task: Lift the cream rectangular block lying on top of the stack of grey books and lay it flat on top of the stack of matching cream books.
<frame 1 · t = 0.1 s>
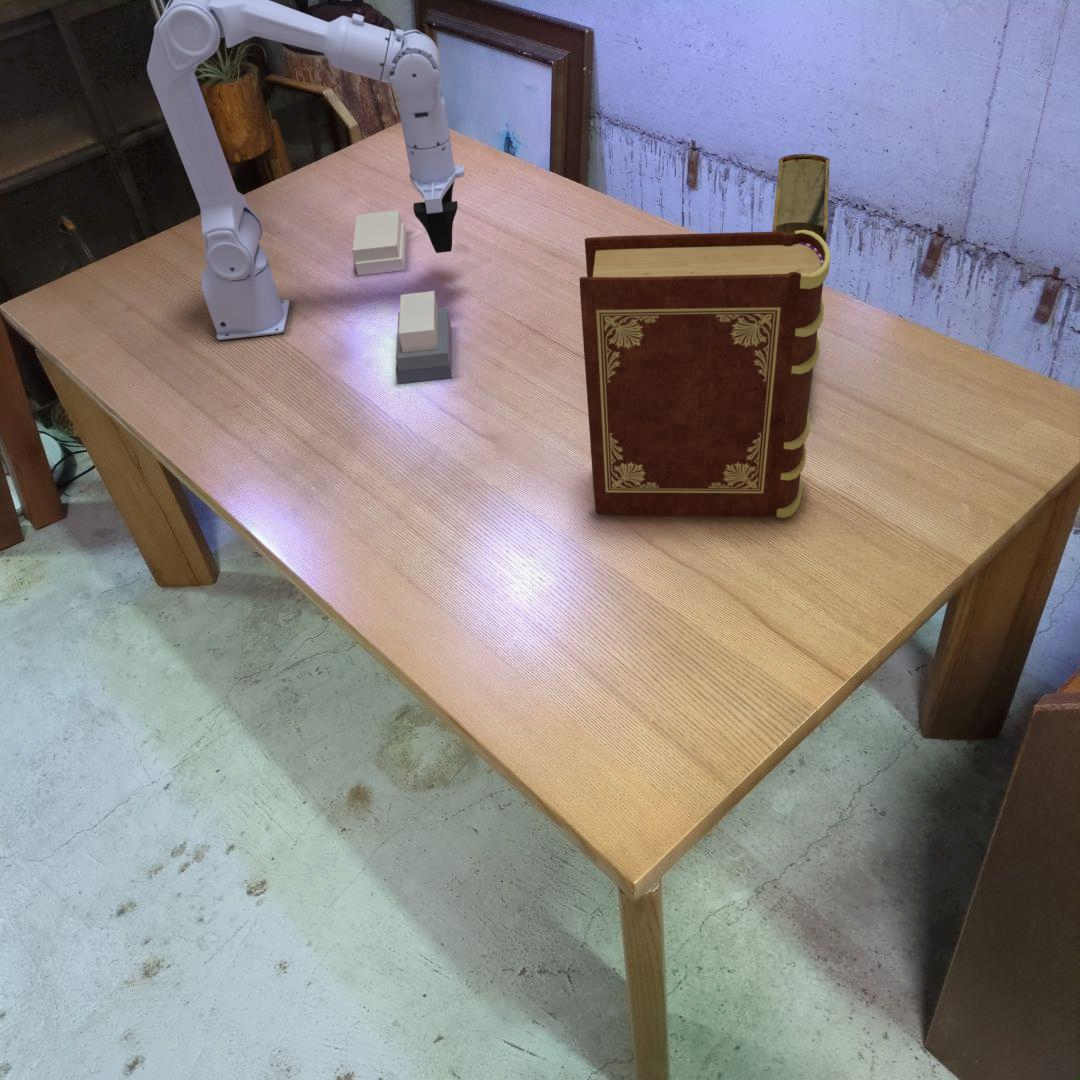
hand: (443, 236, 143), 10 cm above the table, tool pointing down, fingers open, 7 cm apart
cream stack: (382, 254, 161), on the table
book: (784, 379, 131), on the table
cream rectangular block: (420, 331, 138), point 4 cm above the table, touching grey stack
grey stack: (425, 356, 141), on the table
decorative book: (697, 494, 118), on the table
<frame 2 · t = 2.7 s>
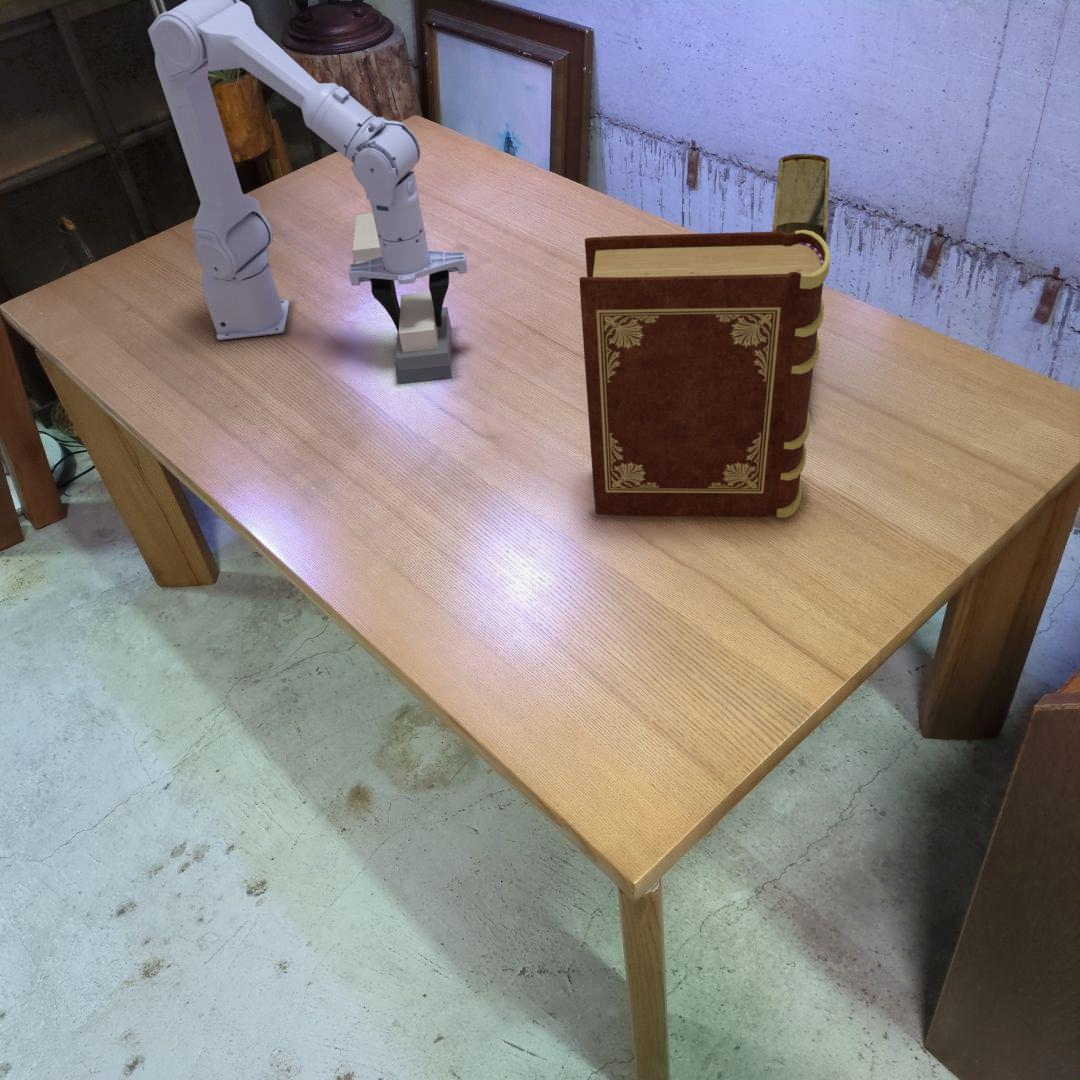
hand: (419, 324, 137), 5 cm above the table, tool pointing down, fingers closed on cream rectangular block, 4 cm apart
cream rectangular block: (420, 331, 138), point 4 cm above the table, touching grey stack, gripper
everything else where it was.
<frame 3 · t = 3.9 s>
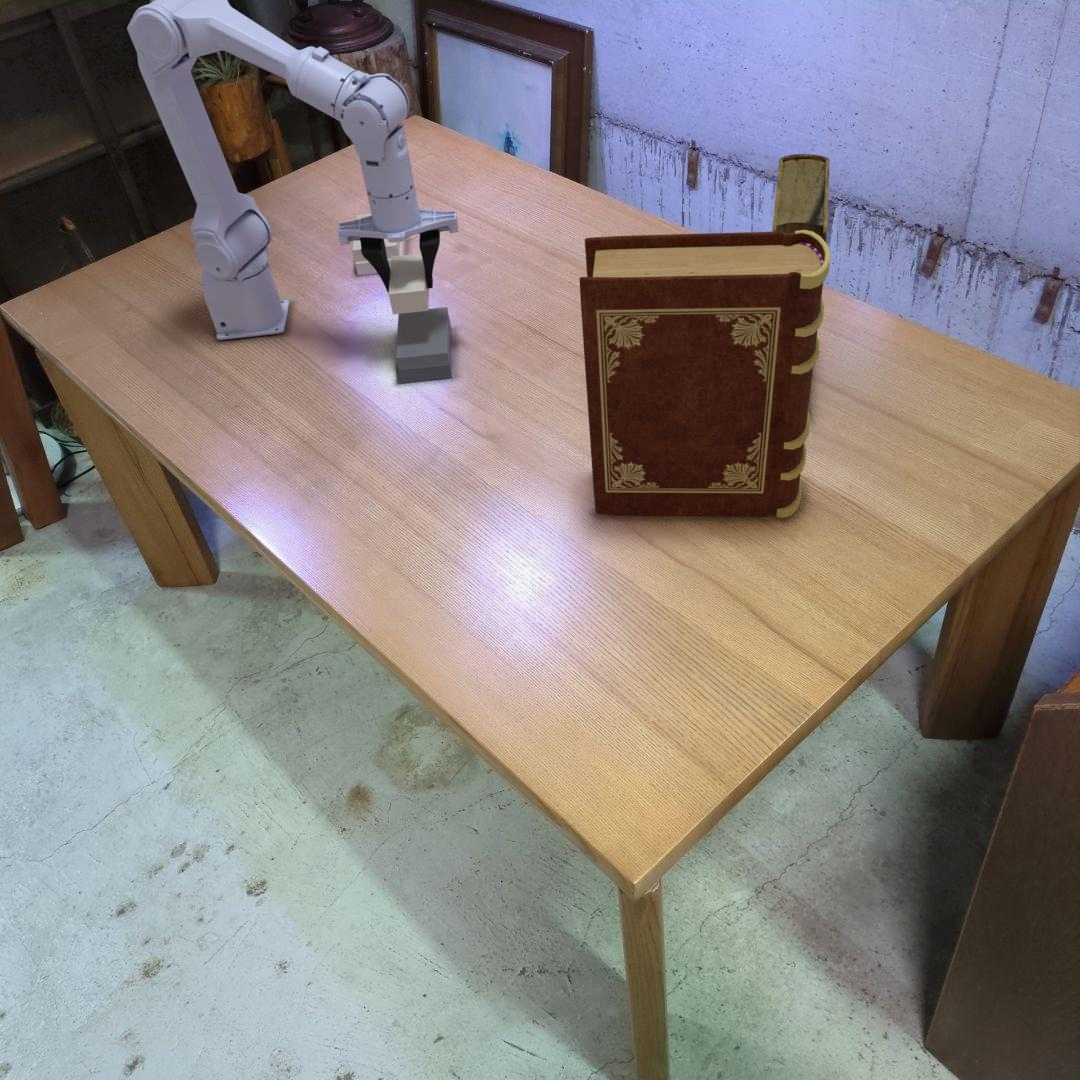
hand: (409, 286, 135), 10 cm above the table, tool pointing down, fingers closed on cream rectangular block, 4 cm apart
cream rectangular block: (411, 293, 136), point 9 cm above the table, touching gripper
everything else where it was.
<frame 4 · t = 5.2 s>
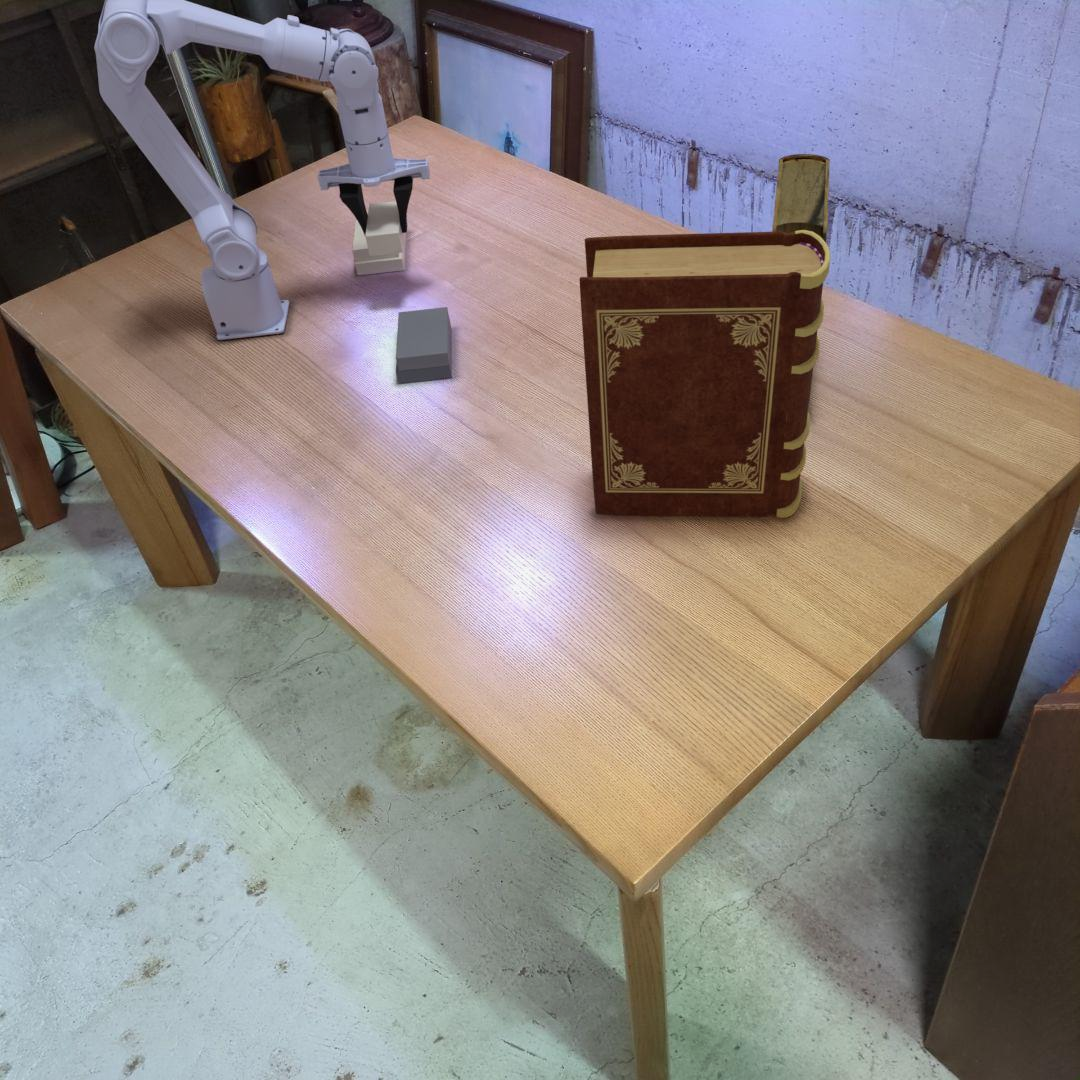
hand: (386, 231, 146), 10 cm above the table, tool pointing down, fingers closed on cream rectangular block, 4 cm apart
cream rectangular block: (387, 237, 146), point 9 cm above the table, touching gripper
everything else where it was.
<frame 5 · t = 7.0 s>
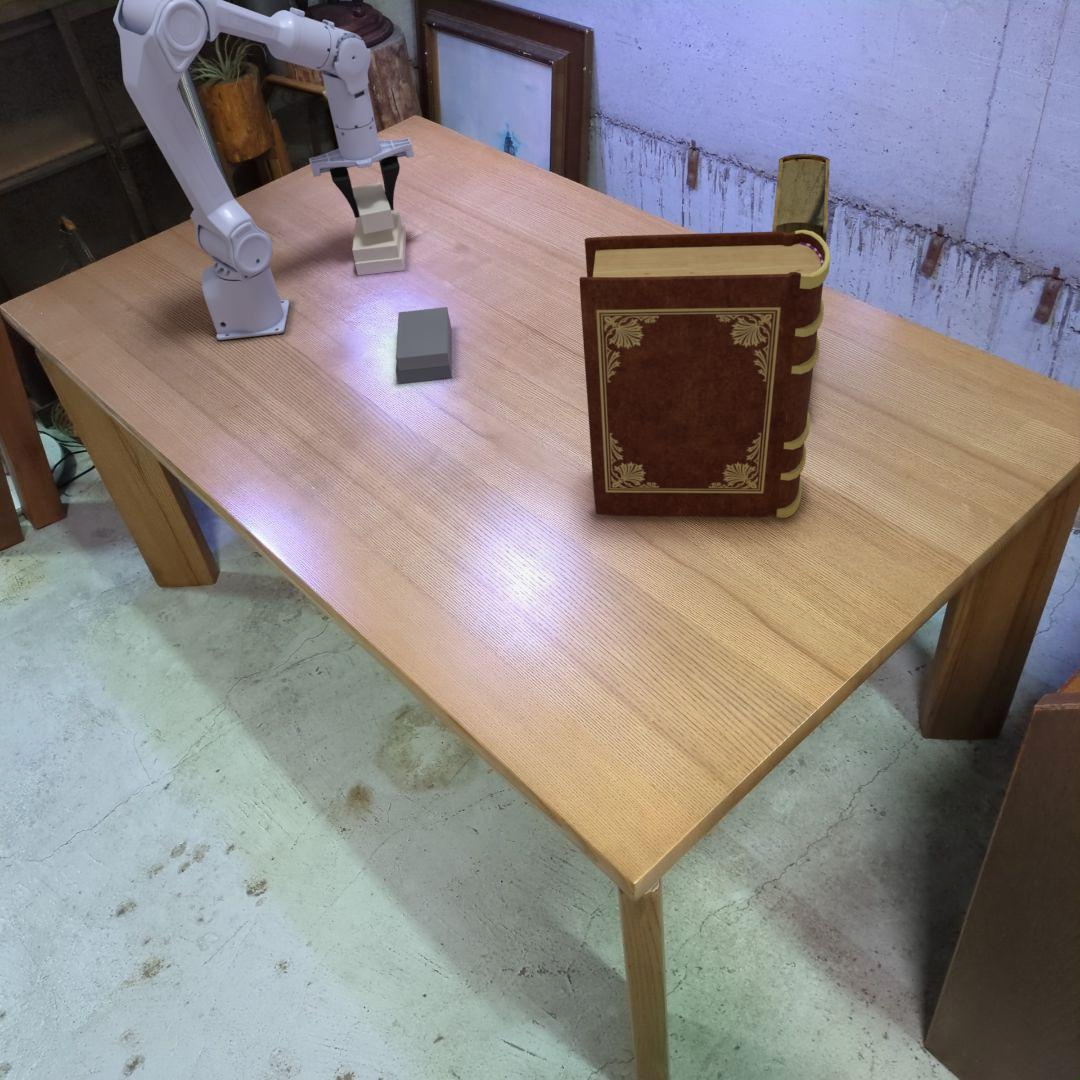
hand: (373, 211, 156), 7 cm above the table, tool pointing down, fingers closed on cream rectangular block, 4 cm apart
cream rectangular block: (374, 217, 156), point 6 cm above the table, touching gripper
everything else where it was.
when the fingers open (5 cm above the table, at t = 8.1 s): cream rectangular block stays where it is, resting on cream stack.
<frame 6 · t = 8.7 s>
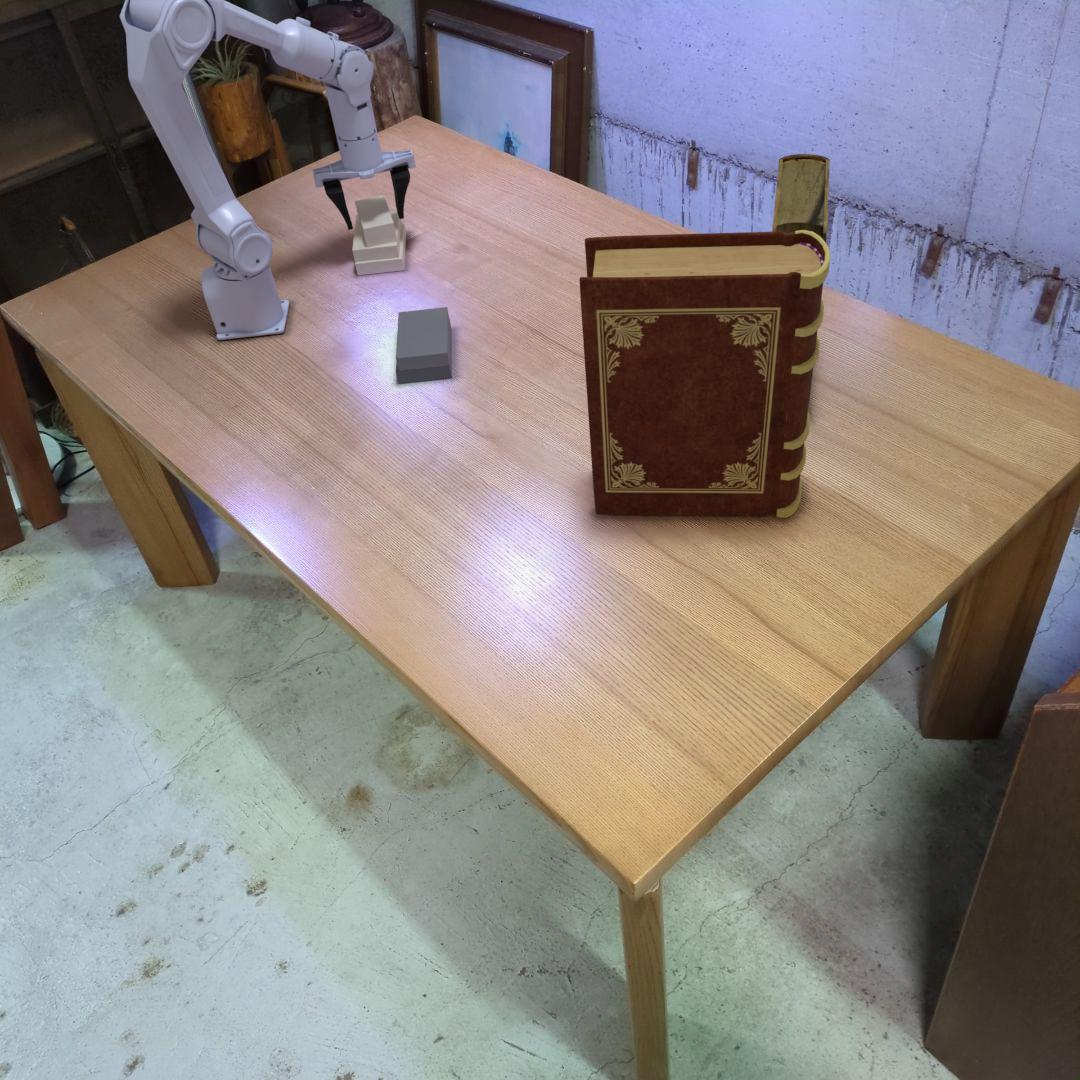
hand: (375, 221, 157), 5 cm above the table, tool pointing down, fingers open, 7 cm apart
cream rectangular block: (377, 230, 158), point 4 cm above the table, touching cream stack
everything else where it was.
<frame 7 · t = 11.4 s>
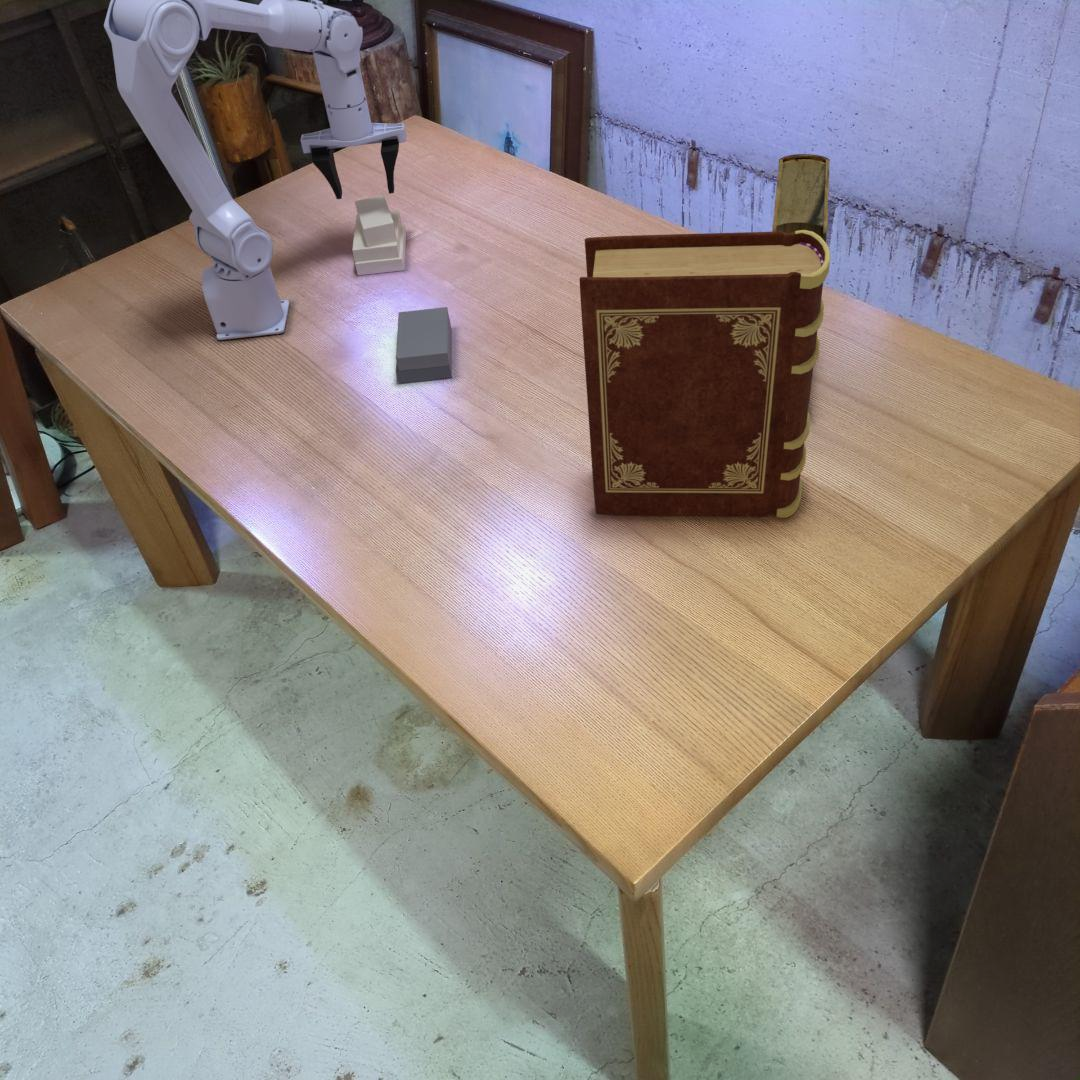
hand: (365, 193, 154), 10 cm above the table, tool pointing down, fingers open, 7 cm apart
nothing on the table moved.
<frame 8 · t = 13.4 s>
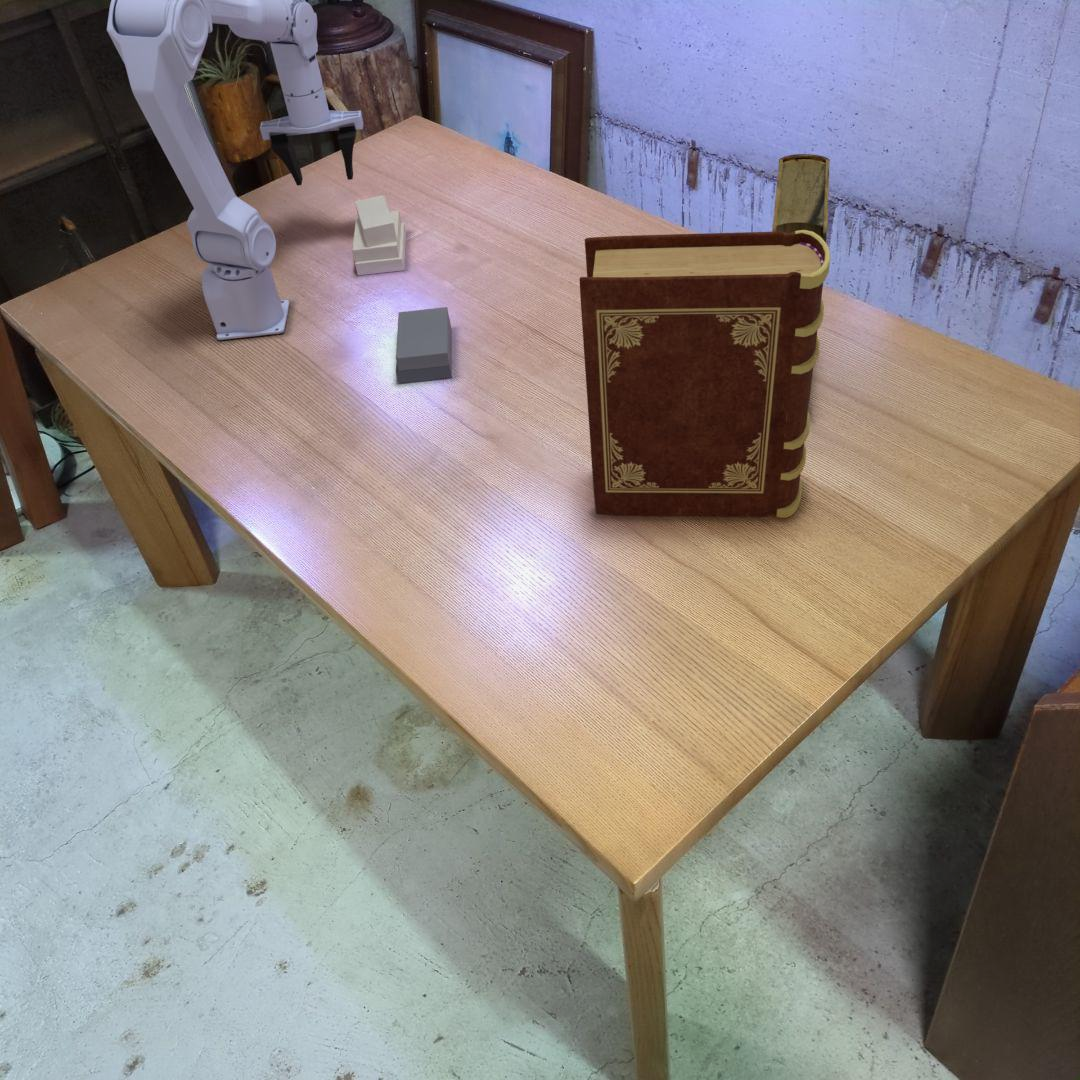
hand: (325, 179, 158), 10 cm above the table, tool pointing down, fingers open, 7 cm apart
nothing on the table moved.
at the end: cream rectangular block 0.0 cm off-centre on the cream stack, point 4.0 cm above the cream stack's base; cream rectangular block tilted 0° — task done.
